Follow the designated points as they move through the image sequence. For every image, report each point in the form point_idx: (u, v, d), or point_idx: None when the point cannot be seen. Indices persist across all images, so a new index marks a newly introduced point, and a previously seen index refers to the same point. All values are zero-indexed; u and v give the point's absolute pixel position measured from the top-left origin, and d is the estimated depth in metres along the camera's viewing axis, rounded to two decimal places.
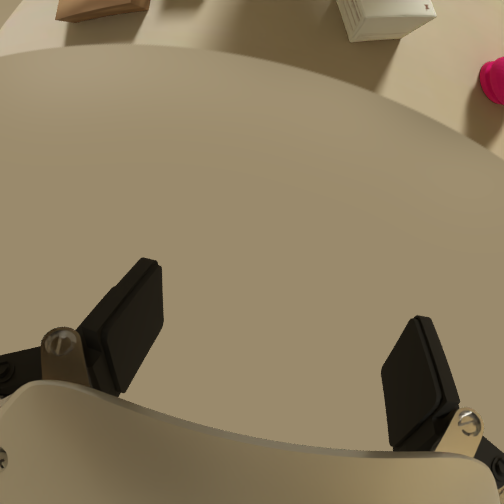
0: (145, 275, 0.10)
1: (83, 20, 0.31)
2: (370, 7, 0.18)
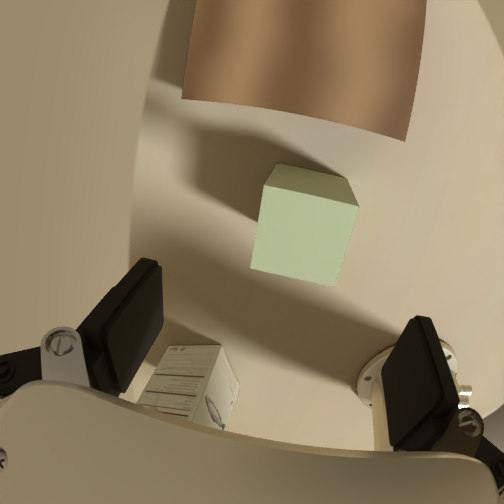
0: (145, 275, 0.10)
1: None
2: None
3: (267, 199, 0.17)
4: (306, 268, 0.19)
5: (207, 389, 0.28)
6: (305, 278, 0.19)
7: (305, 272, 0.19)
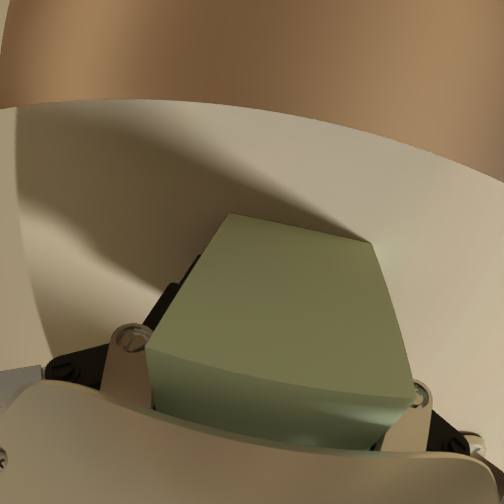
0: None
1: None
2: None
3: (163, 375, 0.06)
4: None
5: None
6: None
7: None
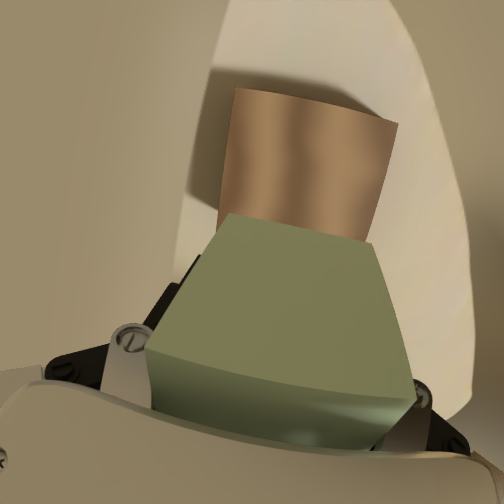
0: None
1: None
2: None
3: (161, 376, 0.06)
4: None
5: None
6: None
7: None
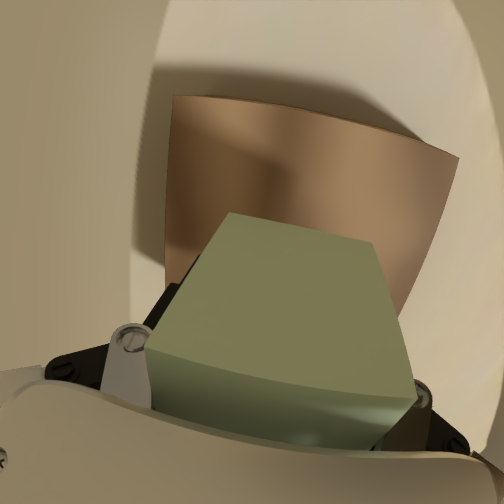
0: None
1: None
2: None
3: (162, 375, 0.06)
4: None
5: None
6: None
7: None
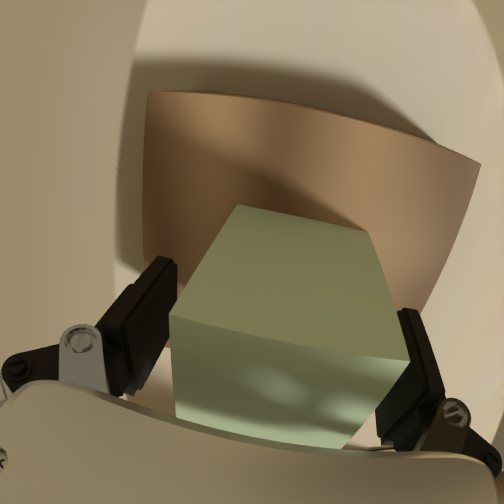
0: (162, 273, 0.10)
1: None
2: None
3: (183, 342, 0.07)
4: (281, 441, 0.08)
5: None
6: None
7: None
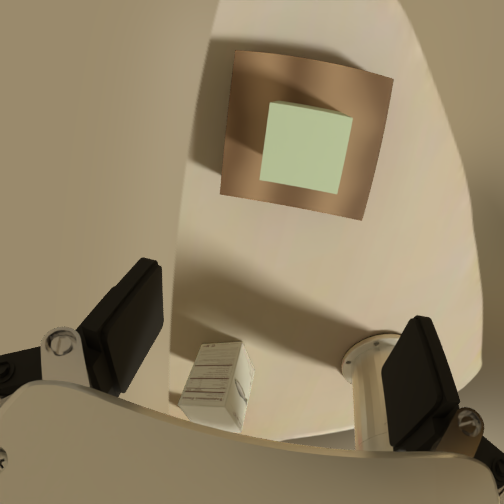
0: (145, 275, 0.10)
1: None
2: (185, 408, 0.37)
3: (273, 114, 0.19)
4: (310, 176, 0.20)
5: (235, 373, 0.41)
6: (310, 186, 0.21)
7: (310, 180, 0.21)
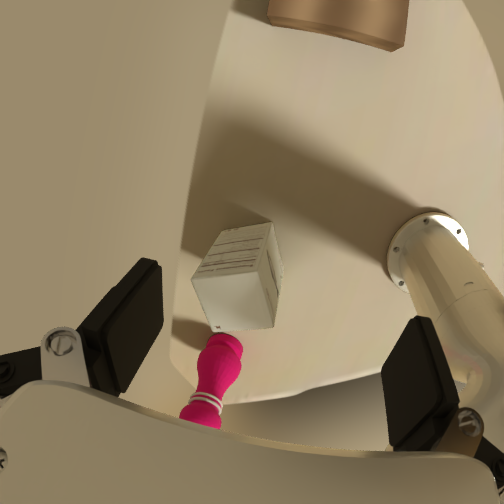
0: (145, 275, 0.10)
1: None
2: (201, 285, 0.31)
3: None
4: None
5: (267, 245, 0.34)
6: None
7: None
